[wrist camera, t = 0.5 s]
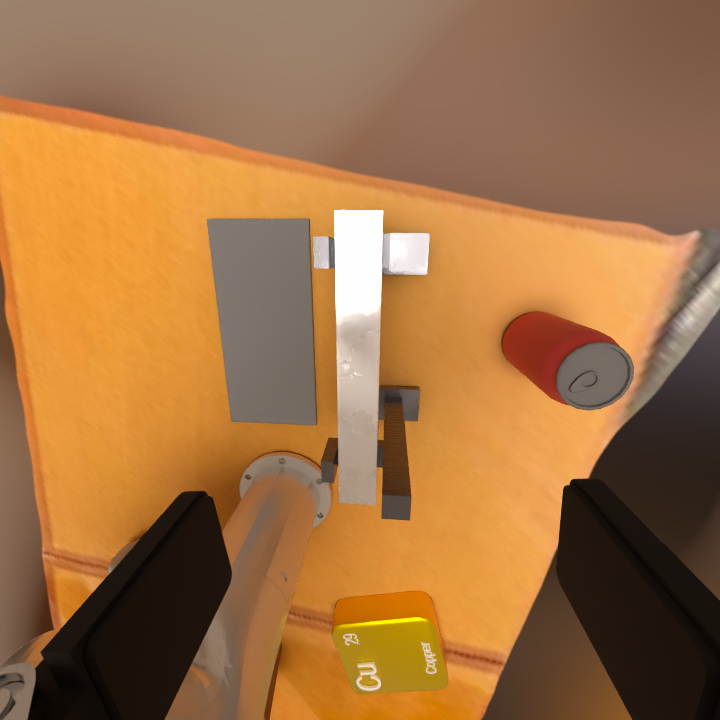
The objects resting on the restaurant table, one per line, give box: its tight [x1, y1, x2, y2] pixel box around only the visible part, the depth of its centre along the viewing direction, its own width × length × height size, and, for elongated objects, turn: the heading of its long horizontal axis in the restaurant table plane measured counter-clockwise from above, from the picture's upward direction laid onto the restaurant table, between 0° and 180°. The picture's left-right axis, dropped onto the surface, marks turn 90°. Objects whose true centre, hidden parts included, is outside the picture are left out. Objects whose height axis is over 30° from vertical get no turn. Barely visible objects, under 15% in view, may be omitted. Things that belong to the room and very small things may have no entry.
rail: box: [334, 210, 384, 505], centre depth 25 cm, size 22×3×3 cm, turn 0°
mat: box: [207, 219, 317, 425], centre depth 39 cm, size 24×11×1 cm, turn 0°
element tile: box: [332, 591, 448, 694], centre depth 50 cm, size 15×15×5 cm
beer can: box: [503, 312, 634, 410], centre depth 31 cm, size 7×7×12 cm
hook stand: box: [313, 233, 430, 520], centre depth 29 cm, size 21×9×18 cm, turn 0°
